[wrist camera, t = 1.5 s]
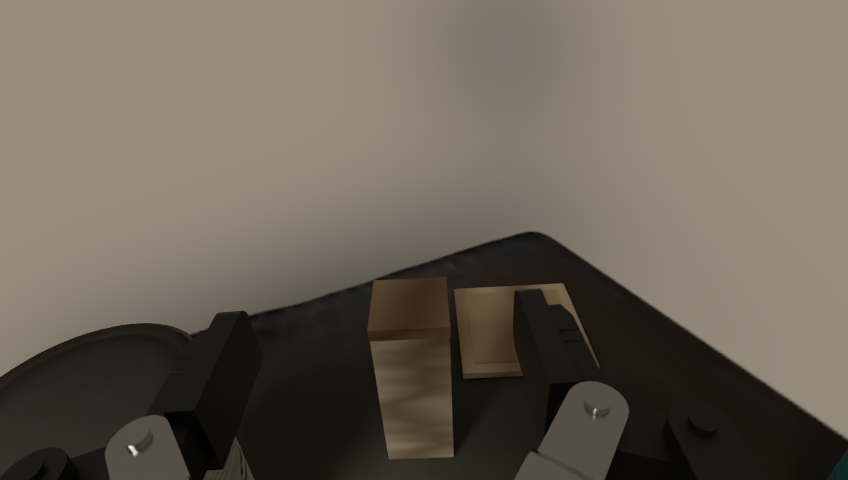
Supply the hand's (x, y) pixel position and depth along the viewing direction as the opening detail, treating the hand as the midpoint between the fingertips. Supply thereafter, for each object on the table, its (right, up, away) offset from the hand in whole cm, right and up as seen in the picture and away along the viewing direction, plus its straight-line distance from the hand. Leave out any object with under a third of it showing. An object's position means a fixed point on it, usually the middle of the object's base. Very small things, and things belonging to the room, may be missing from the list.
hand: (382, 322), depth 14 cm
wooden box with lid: (+1, -11, +20) cm, 23 cm away
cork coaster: (+10, -6, +28) cm, 30 cm away
